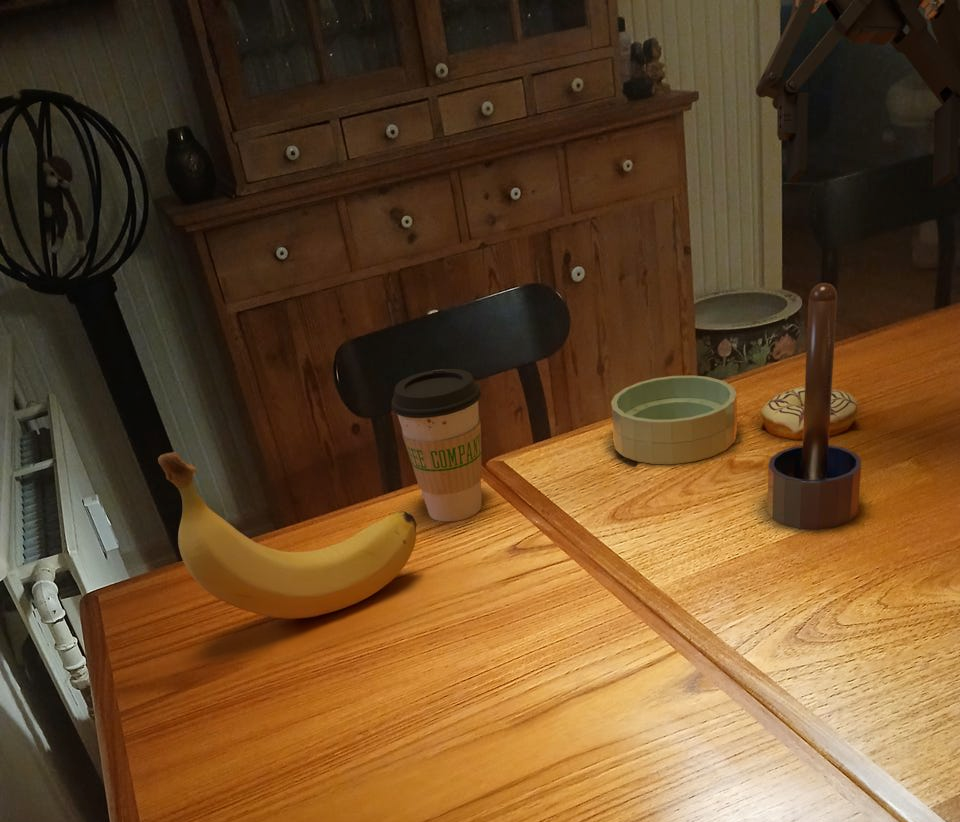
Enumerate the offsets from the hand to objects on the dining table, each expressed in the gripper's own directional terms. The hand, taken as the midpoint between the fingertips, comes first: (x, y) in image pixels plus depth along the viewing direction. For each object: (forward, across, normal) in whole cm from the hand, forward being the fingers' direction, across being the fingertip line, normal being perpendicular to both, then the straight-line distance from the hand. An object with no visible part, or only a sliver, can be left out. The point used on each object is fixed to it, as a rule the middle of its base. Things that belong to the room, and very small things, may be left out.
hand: (871, 179), depth 87 cm
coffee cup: (+27, +36, -27) cm, 53 cm away
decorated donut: (+18, -7, -29) cm, 35 cm away
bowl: (+19, +9, -32) cm, 38 cm away
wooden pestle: (+28, 0, -11) cm, 30 cm away
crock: (+29, 0, -11) cm, 31 cm away
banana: (+38, +50, -13) cm, 64 cm away
